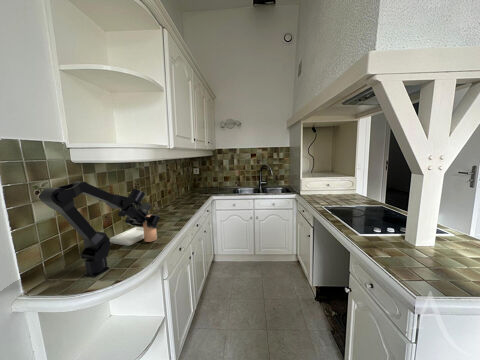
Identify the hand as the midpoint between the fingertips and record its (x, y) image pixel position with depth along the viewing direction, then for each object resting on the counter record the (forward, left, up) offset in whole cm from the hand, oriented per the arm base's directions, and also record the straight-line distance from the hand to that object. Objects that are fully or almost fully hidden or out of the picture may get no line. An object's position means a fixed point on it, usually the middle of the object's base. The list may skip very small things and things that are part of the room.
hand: (151, 226), depth 113 cm
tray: (0, +14, -8) cm, 16 cm away
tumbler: (-1, 0, -7) cm, 7 cm away
